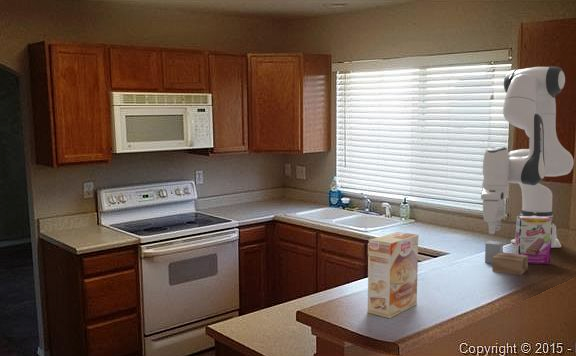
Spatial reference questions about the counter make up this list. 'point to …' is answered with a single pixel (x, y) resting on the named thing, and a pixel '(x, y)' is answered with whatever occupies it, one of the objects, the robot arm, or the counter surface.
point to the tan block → (510, 263)
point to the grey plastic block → (492, 250)
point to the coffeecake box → (392, 274)
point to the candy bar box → (534, 238)
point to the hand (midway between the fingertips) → (494, 231)
